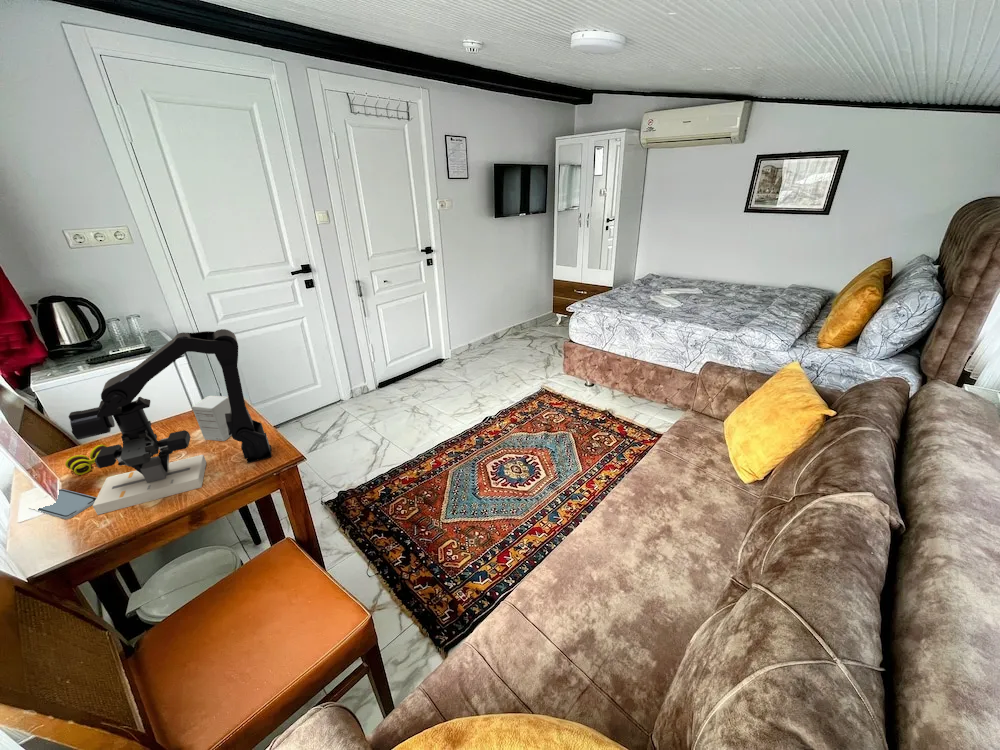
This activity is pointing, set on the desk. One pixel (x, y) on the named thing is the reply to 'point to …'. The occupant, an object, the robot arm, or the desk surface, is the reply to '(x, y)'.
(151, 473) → the block
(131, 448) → the robot arm
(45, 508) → the smartphone
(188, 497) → the desk surface
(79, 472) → the opera glasses
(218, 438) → the supplement box
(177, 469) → the block
